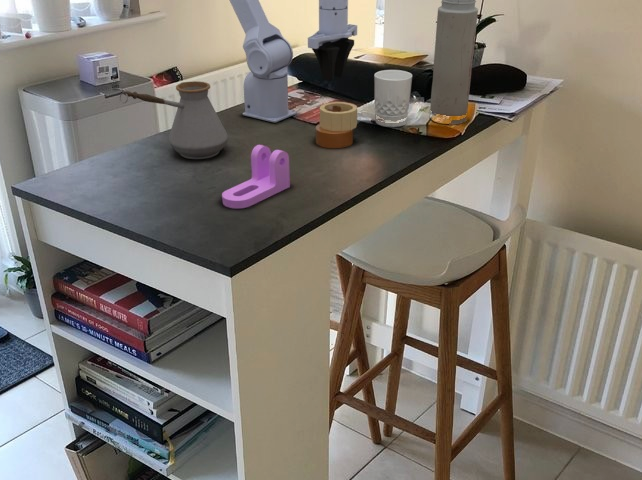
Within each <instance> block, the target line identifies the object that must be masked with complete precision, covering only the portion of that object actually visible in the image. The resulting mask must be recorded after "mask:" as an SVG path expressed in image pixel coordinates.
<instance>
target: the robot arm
mask: <svg viewBox="0 0 642 480" xmlns="http://www.w3.org/2000/svg"><path fill="white" fill-rule="evenodd" d="M229 3H230V5H231V6H232V9H233V11H234V13H235V15H236V17H237V19H238V21H239V24H240V26H241V28H242V30H243V32H244V34H245V36H244V40H243V43H242V49H243V51H244V53H245V57H246V65H247V67H248V69H249V72H248V73H246V75H245V77H244V80H243V101H244V102H243V103H244V112H242V116H244V117H249V118H253V119H257V120H262V121H266V122H269V123H274V124H275V123H278V122H280V121H283V120H286V119H287V118H290V117H292V116H295V115H296V114H298V111H296V110H293V109H289V84H288V83H289V82H288V81H289V79H288V72H289V66H290V64H291V63H292V62H293V57H294V50H293V47H292V45H291V43H290V42H289V41H288V40H287V39H286V38H285V37H284V36H283V35H282V33H281V30H280V29H279V28H278V27H276V26H275V25H273V24H272V23H271V22H270V21H269V20H268V17H267V15H266V13H265V11H264V8H263V7H262V4H261V2H260V1H259V0H229ZM348 19H349V0H318V30H317V31H316V32H315V33H313V34H312V35H310V36H308V37H307V48H308V49H311V50H312V51H313V53H314V56H315V57H316V59H317V62H318V65H319V69H320V73H321V76H322V81H326V82H333V81H334V77H336V78H343V77H344V74H345V70H346V66H347V63H348V59H349V56H350V54H351V52H352V49H353V48H354V46H355V39H352V38H351V37H356V36H358V24H348V22H349V21H348Z"/></svg>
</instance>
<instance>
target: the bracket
mask: <svg viewBox="0 0 642 480" xmlns="http://www.w3.org/2000/svg"><path fill="white" fill-rule="evenodd" d="M250 166H251V168H250V169H251V178H250V179H248V180H245V181H244V182H242V183H239V184H237V185H234V186H233V187H231V188H228V189H226V190H224V191H223V192H222V193H221V199H222V205H223V206H224V207H226V208H229V209H237V210H238V209H245V208H250V207H252V206H253V205H256V204H258V203H260V202H262V201H264V200H266V199H268V198H270V197H272V196H274V195H276V194H278V193H281V192H282V191H284V190H286V189H289V188H290V187H291V180H290V178H291V176H290V156H289V154H288V152H287V151H284V150H281V149H275V150H273V151H272V152H271V149H270V147H268V146H266V145H263V144H256V145H255V146H254V147H253V149H252V150H251V153H250Z"/></svg>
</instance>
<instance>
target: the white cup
mask: <svg viewBox="0 0 642 480" xmlns="http://www.w3.org/2000/svg"><path fill="white" fill-rule="evenodd" d="M373 78H374V79H373V81H374V82H373V83H374V85H373V86H374V87H373V88H374V90H373V91H374V111H375V116H376V115H377V116H379V117H380V118H383V119H384V120H391V121H397V120H401V119H404V118H406V117H407V119H406V120H405V121H403V122H399V123H385V122H381V121H378V120H377V119H376V118H375V119H374V120H375V124H377V125H378V126H381V127H386V128H398V127H403V126H405V125H406V124H407V122H408V115H409V114H408V113H409V109H410V100H411V92H412V83H413V82H412V81H413V74H412V73H411V72H408V71H406V70H400V69H384V70H379V71H377V72H375V73H374V76H373Z"/></svg>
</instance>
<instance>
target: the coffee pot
mask: <svg viewBox="0 0 642 480" xmlns="http://www.w3.org/2000/svg"><path fill="white" fill-rule="evenodd" d="M210 88H211V84H210V83H208V82H205V81H199V80H198V81H197V80H196V81H183V82H180V83H178V84H177V85H176V86H175V90H176V91H177V92H178V93H179V96H180V98H179V101H173V100H168V99H164V98H161V97H157V96H154V95H151V94H147V93H138V92H137V91H133V92H131V91H128V90H125V91H123V92H121V93H120V95H119V102H121V103H122V104H126V103H127V102H128V100H129V97H132V99H133V100H136V99H138V100H141V101H143V102H147V103H152V104H153V103H154V104H160V105H166V106H170V107H174V108H176V112H175V116H174V119H173V122H172V126H171V129H170V132H169V136H168V143H169V145H170V147H171V148H172V149H173V151H175V152H176V153H178V154H179V155H180V156H181V157H183V158H185V159H191V160H204V159H210V158H213V157H216V156H217V155H218V154H219V153H220V151H222V150H223V148H225V146H226V145H227V143H228V141H229V139H228V138H229V137H228V133H227V131H226V129H225V127H224V125H223V124H222V121H221V119H220V118H219V116H218V114H217V112H216V110H215V108H214V106H213V104H212V102H211V100H210V98H209V96H208V95H209V90H210ZM123 95H124V96H125V97H126V100H125V101H122V96H123Z"/></svg>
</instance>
